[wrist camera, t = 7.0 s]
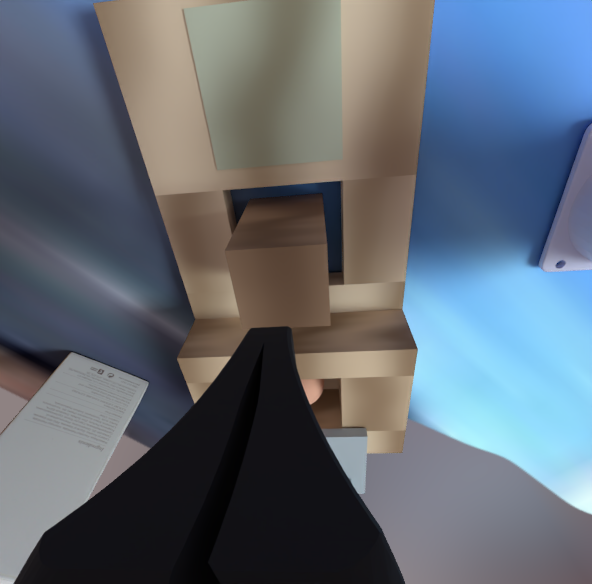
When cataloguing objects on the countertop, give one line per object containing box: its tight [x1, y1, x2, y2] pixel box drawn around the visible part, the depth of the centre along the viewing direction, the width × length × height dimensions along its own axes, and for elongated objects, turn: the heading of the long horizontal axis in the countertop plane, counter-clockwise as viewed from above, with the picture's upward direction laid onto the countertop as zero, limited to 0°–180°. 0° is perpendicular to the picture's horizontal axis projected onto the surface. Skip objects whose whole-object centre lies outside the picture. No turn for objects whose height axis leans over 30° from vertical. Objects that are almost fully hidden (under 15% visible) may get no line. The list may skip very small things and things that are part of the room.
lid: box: [322, 428, 368, 494], centre depth 22 cm, size 8×7×3 cm
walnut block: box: [225, 193, 331, 330], centre depth 17 cm, size 4×4×6 cm
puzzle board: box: [93, 0, 435, 453], centre depth 18 cm, size 13×25×5 cm, turn 5°
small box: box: [0, 352, 149, 584], centre depth 23 cm, size 8×6×13 cm
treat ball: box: [301, 379, 324, 404], centre depth 22 cm, size 3×3×3 cm
